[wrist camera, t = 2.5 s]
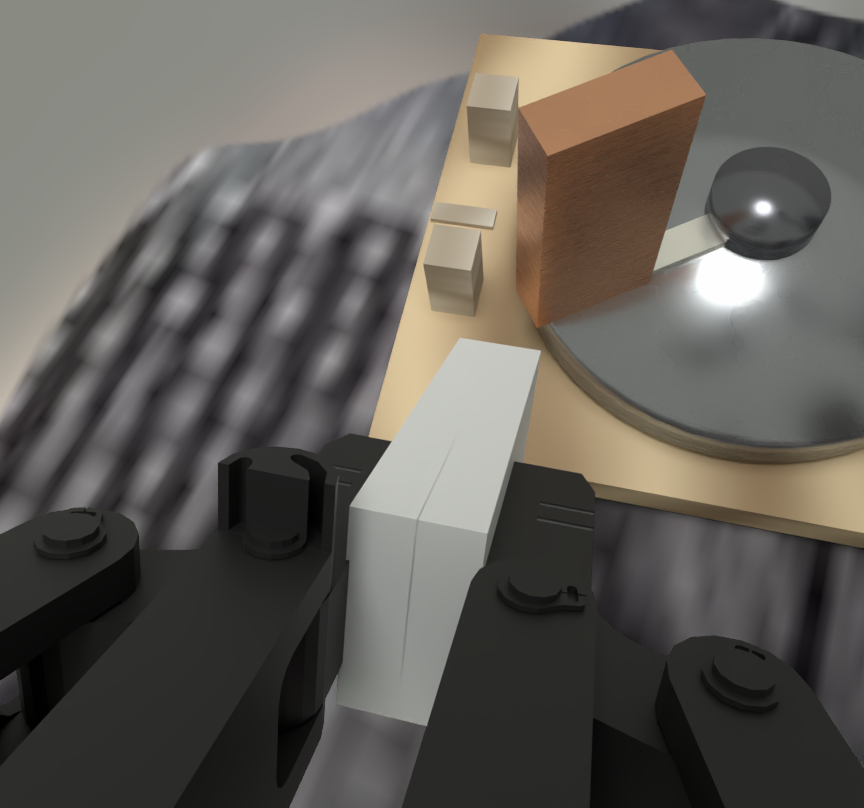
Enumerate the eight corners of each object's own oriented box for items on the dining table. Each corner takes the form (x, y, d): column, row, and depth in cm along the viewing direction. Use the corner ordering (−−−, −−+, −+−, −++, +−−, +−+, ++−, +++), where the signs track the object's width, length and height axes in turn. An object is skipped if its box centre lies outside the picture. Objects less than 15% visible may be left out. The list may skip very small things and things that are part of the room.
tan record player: (1107, 123, 31) (1200, 26, 27) (1168, 606, 24) (1307, 577, 19) (481, 61, 35) (478, -30, 31) (374, 455, 28) (351, 404, 24)
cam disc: (815, 28, 32) (939, -264, 22) (1099, 347, 25) (1435, 120, 16) (438, 172, 30) (408, -73, 21) (634, 547, 24) (711, 425, 15)
